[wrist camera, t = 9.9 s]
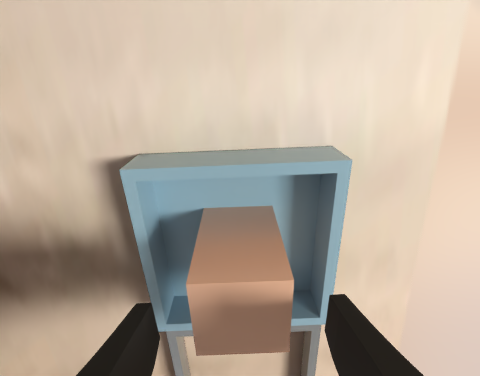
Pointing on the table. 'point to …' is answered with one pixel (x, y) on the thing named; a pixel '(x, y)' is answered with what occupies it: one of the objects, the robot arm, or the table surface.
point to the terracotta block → (240, 283)
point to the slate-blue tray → (238, 195)
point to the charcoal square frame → (310, 332)
